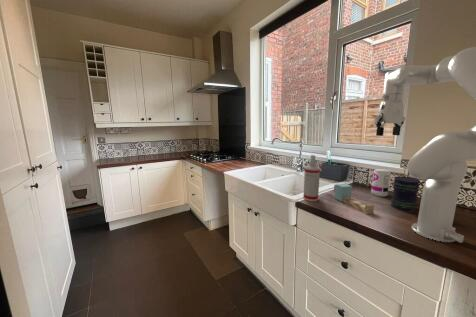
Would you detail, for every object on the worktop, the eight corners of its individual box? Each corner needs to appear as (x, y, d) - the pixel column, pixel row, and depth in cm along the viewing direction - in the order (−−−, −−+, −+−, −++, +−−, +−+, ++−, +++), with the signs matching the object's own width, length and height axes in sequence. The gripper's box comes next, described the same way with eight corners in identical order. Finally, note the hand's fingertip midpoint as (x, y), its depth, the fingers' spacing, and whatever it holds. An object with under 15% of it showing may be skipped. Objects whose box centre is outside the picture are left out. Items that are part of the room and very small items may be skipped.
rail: (373, 213, 98) (375, 198, 96) (366, 214, 97) (367, 199, 95) (339, 196, 120) (340, 184, 118) (333, 197, 119) (334, 184, 117)
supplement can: (373, 196, 120) (376, 171, 117) (369, 191, 127) (371, 168, 125) (389, 197, 117) (393, 172, 115) (384, 192, 125) (387, 168, 122)
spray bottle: (300, 198, 117) (302, 154, 113) (308, 195, 122) (310, 153, 117) (312, 202, 111) (315, 156, 107) (320, 199, 116) (323, 155, 111)
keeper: (350, 200, 113) (352, 186, 111) (341, 201, 111) (342, 187, 110) (344, 197, 117) (345, 183, 116) (334, 198, 116) (335, 184, 115)
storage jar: (420, 212, 98) (425, 182, 95) (396, 210, 100) (401, 181, 97) (407, 204, 108) (411, 176, 105) (386, 203, 110) (390, 175, 107)
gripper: (384, 97, 90) (380, 136, 93) (415, 98, 94) (409, 135, 97) (370, 99, 98) (366, 135, 101) (399, 99, 102) (394, 134, 105)
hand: (387, 135), depth 99 cm, fingers open, 9 cm apart
